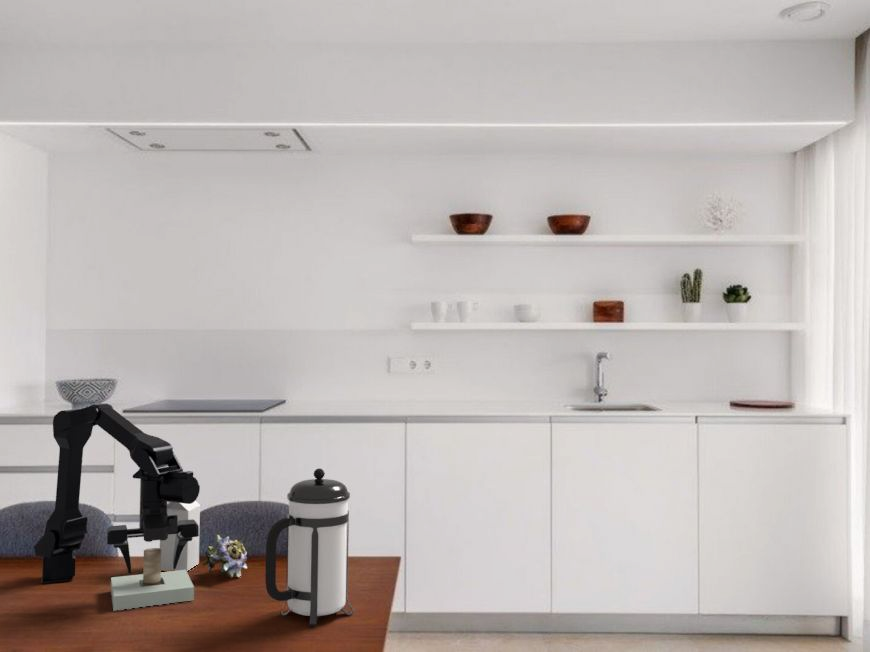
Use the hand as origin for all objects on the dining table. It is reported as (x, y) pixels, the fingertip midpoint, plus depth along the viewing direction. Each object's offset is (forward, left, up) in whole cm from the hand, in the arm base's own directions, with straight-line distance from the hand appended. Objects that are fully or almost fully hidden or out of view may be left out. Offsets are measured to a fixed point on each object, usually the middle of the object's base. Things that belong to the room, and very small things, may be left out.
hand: (152, 571), depth 168 cm
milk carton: (+8, +19, -6) cm, 21 cm away
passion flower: (+17, +9, -6) cm, 20 cm away
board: (0, 0, -5) cm, 5 cm away
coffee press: (+29, -26, -6) cm, 39 cm away
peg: (0, 0, -6) cm, 6 cm away
